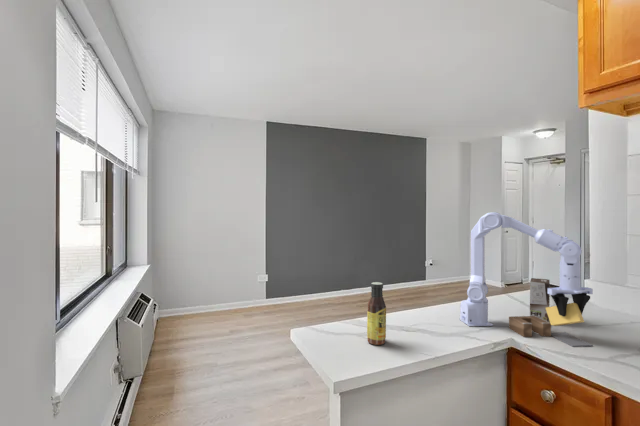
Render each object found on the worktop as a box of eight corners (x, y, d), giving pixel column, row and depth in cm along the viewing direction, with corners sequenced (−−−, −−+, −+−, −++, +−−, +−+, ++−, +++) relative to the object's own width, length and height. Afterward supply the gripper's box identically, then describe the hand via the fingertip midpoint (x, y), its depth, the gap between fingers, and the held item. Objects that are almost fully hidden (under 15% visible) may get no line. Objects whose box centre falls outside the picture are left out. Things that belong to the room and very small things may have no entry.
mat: (572, 346, 104) (572, 345, 104) (546, 333, 115) (546, 332, 115) (593, 346, 105) (593, 345, 105) (565, 333, 116) (565, 332, 116)
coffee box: (548, 324, 124) (549, 283, 124) (529, 321, 128) (529, 281, 128) (549, 318, 131) (550, 279, 131) (530, 315, 135) (531, 277, 135)
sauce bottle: (381, 347, 104) (381, 286, 103) (363, 343, 107) (364, 284, 107) (388, 340, 109) (388, 282, 109) (371, 336, 112) (371, 280, 112)
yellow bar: (580, 320, 105) (573, 302, 108) (551, 325, 112) (545, 307, 115) (584, 322, 107) (577, 304, 110) (555, 326, 113) (549, 308, 116)
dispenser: (523, 337, 112) (523, 323, 112) (508, 328, 120) (508, 315, 120) (550, 336, 113) (551, 322, 113) (534, 328, 121) (534, 315, 121)
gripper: (558, 278, 105) (559, 319, 105) (600, 277, 106) (601, 318, 106) (542, 274, 112) (543, 312, 112) (582, 273, 113) (582, 311, 113)
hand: (570, 315), depth 110 cm, fingers closed on yellow bar, 5 cm apart
